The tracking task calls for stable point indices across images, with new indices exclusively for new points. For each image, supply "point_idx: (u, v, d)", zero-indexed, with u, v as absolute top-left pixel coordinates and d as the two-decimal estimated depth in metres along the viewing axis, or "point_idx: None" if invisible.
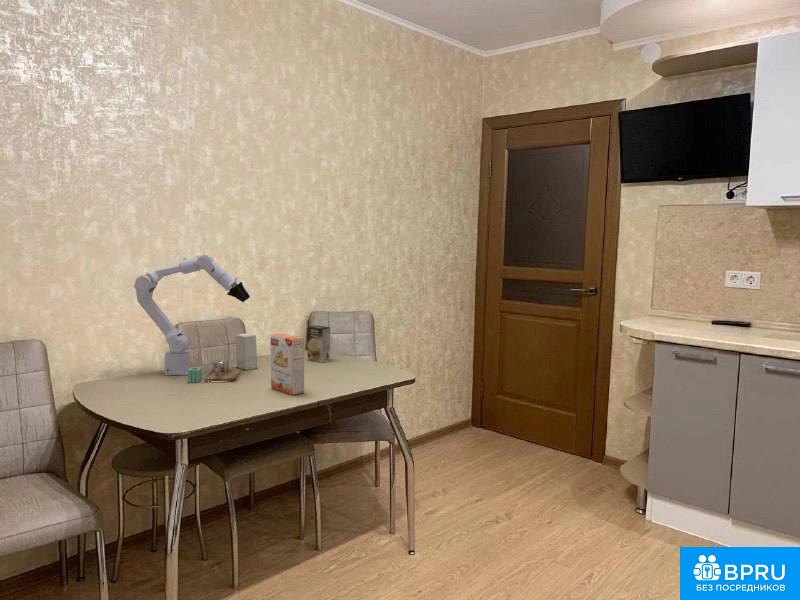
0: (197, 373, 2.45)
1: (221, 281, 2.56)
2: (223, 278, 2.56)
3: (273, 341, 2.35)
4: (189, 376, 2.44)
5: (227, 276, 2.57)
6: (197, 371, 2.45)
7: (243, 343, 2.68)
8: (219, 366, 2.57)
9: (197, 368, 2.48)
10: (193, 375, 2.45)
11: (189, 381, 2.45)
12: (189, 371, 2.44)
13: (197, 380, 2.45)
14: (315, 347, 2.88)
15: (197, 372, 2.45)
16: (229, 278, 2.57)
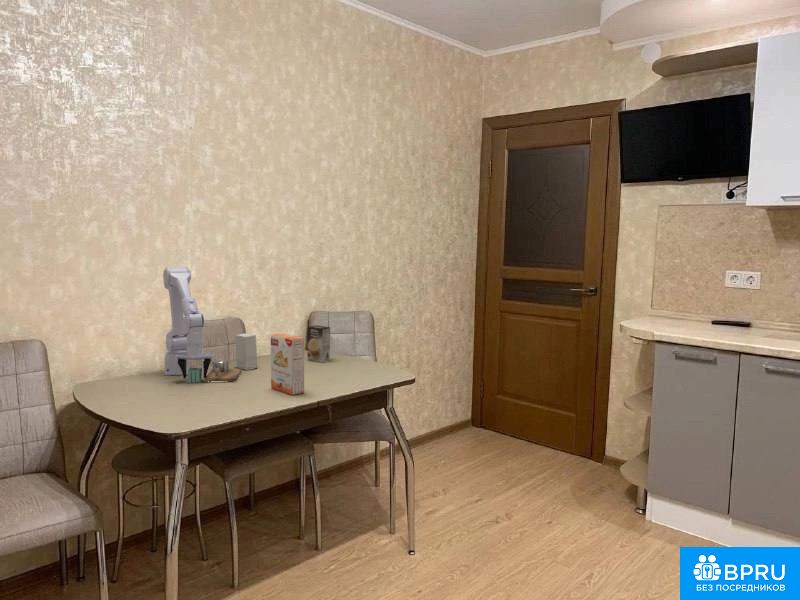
0: (197, 373, 2.45)
1: None
2: (186, 346, 2.45)
3: (273, 341, 2.35)
4: (189, 376, 2.44)
5: (188, 348, 2.44)
6: (197, 371, 2.45)
7: (243, 343, 2.68)
8: (219, 366, 2.57)
9: (197, 368, 2.48)
10: (193, 375, 2.45)
11: (189, 381, 2.45)
12: (189, 371, 2.44)
13: (197, 380, 2.45)
14: (315, 347, 2.88)
15: (197, 372, 2.45)
16: (188, 351, 2.44)
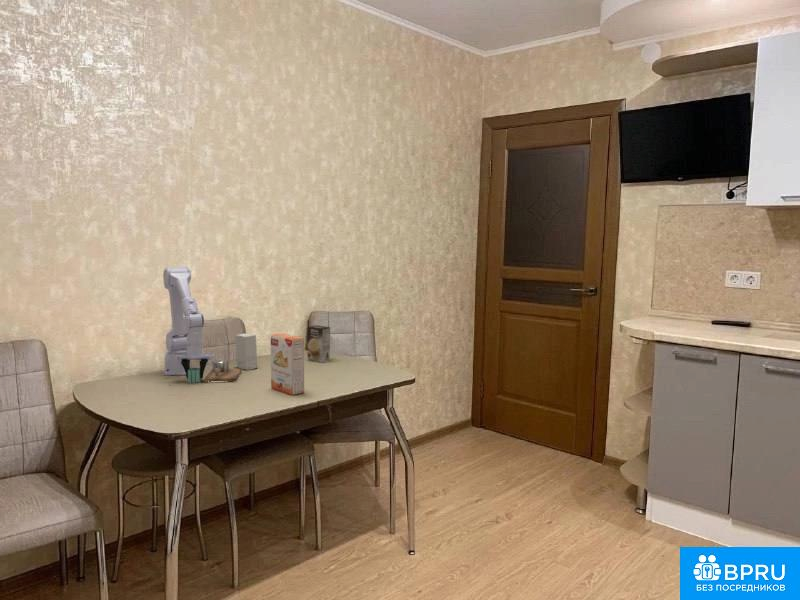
0: (197, 373, 2.45)
1: None
2: (186, 346, 2.45)
3: (272, 341, 2.35)
4: (189, 376, 2.44)
5: (188, 348, 2.44)
6: (197, 371, 2.45)
7: (243, 343, 2.68)
8: (219, 366, 2.57)
9: (197, 368, 2.48)
10: (193, 375, 2.45)
11: (189, 381, 2.45)
12: (189, 371, 2.44)
13: (197, 380, 2.45)
14: (315, 347, 2.88)
15: (197, 372, 2.45)
16: (188, 351, 2.44)
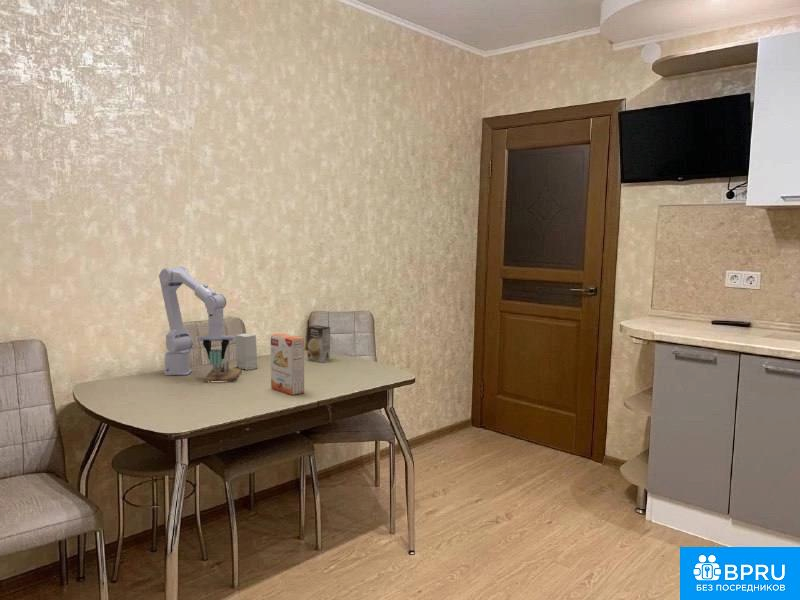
0: (219, 355, 2.48)
1: None
2: None
3: (273, 341, 2.35)
4: (211, 357, 2.47)
5: (210, 329, 2.47)
6: (219, 353, 2.47)
7: (243, 343, 2.68)
8: (219, 366, 2.57)
9: (218, 350, 2.51)
10: (215, 357, 2.47)
11: (211, 363, 2.48)
12: (211, 353, 2.47)
13: (218, 362, 2.48)
14: (315, 347, 2.88)
15: (219, 354, 2.48)
16: (209, 332, 2.47)
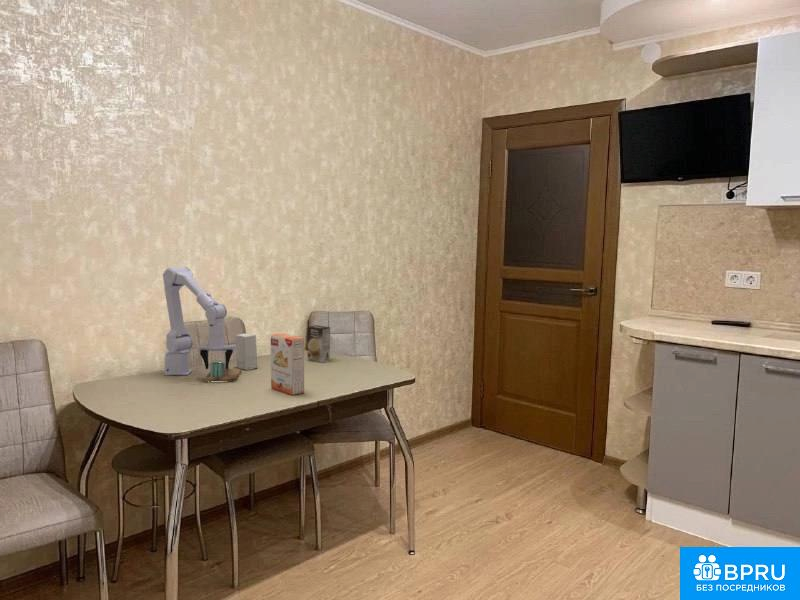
0: (219, 367, 2.48)
1: None
2: (209, 337, 2.49)
3: (273, 341, 2.35)
4: (211, 370, 2.48)
5: (210, 339, 2.48)
6: (219, 366, 2.48)
7: (243, 343, 2.68)
8: None
9: (219, 363, 2.52)
10: (215, 369, 2.48)
11: (211, 375, 2.48)
12: (211, 366, 2.48)
13: (219, 374, 2.49)
14: (315, 347, 2.88)
15: (219, 367, 2.48)
16: (210, 342, 2.48)
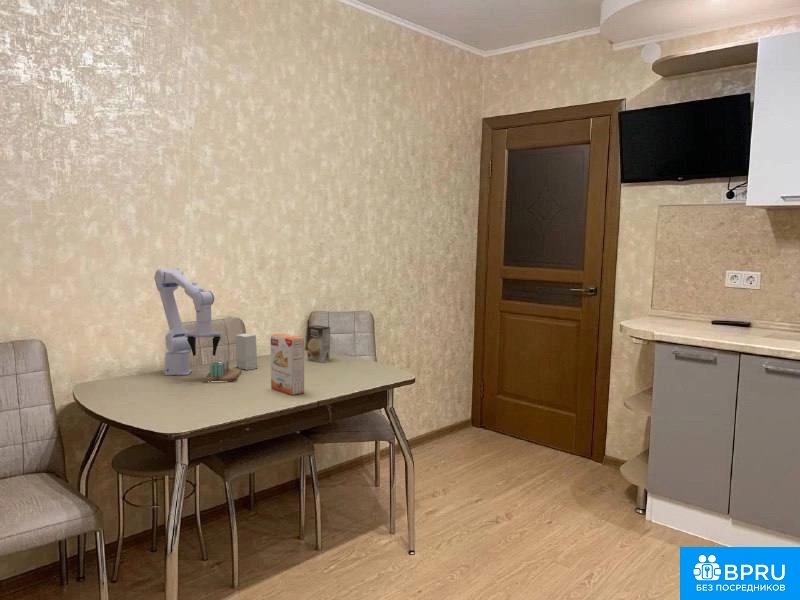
0: (219, 367, 2.48)
1: None
2: (196, 324, 2.48)
3: (273, 341, 2.35)
4: (211, 370, 2.48)
5: (197, 326, 2.46)
6: (219, 366, 2.48)
7: (243, 343, 2.68)
8: None
9: (219, 363, 2.52)
10: (215, 369, 2.48)
11: (211, 375, 2.48)
12: (211, 366, 2.48)
13: (219, 374, 2.49)
14: (315, 347, 2.88)
15: (219, 367, 2.48)
16: (197, 328, 2.47)
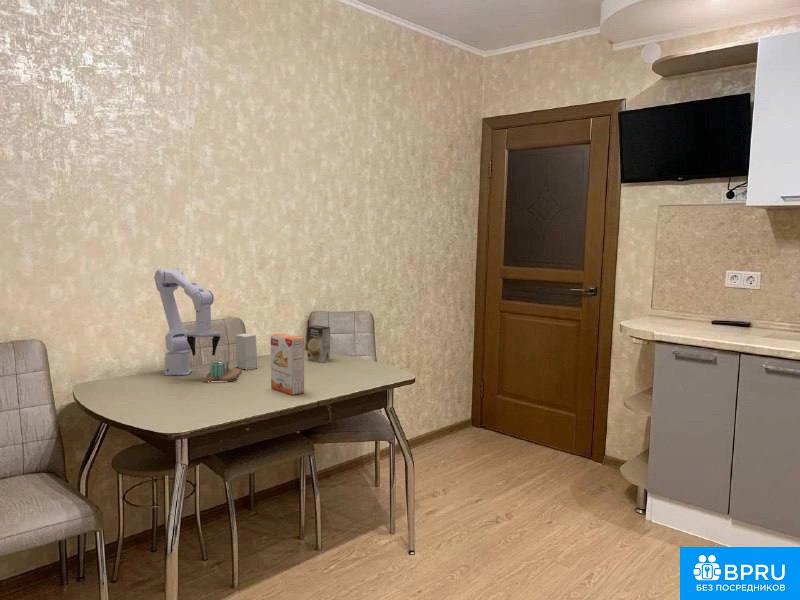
0: (219, 367, 2.48)
1: None
2: None
3: (273, 341, 2.35)
4: (211, 370, 2.48)
5: (197, 326, 2.46)
6: (219, 366, 2.48)
7: (243, 343, 2.68)
8: None
9: (219, 363, 2.52)
10: (215, 369, 2.48)
11: (211, 375, 2.48)
12: (211, 366, 2.48)
13: (219, 374, 2.49)
14: (315, 347, 2.88)
15: (219, 367, 2.48)
16: (197, 328, 2.47)
